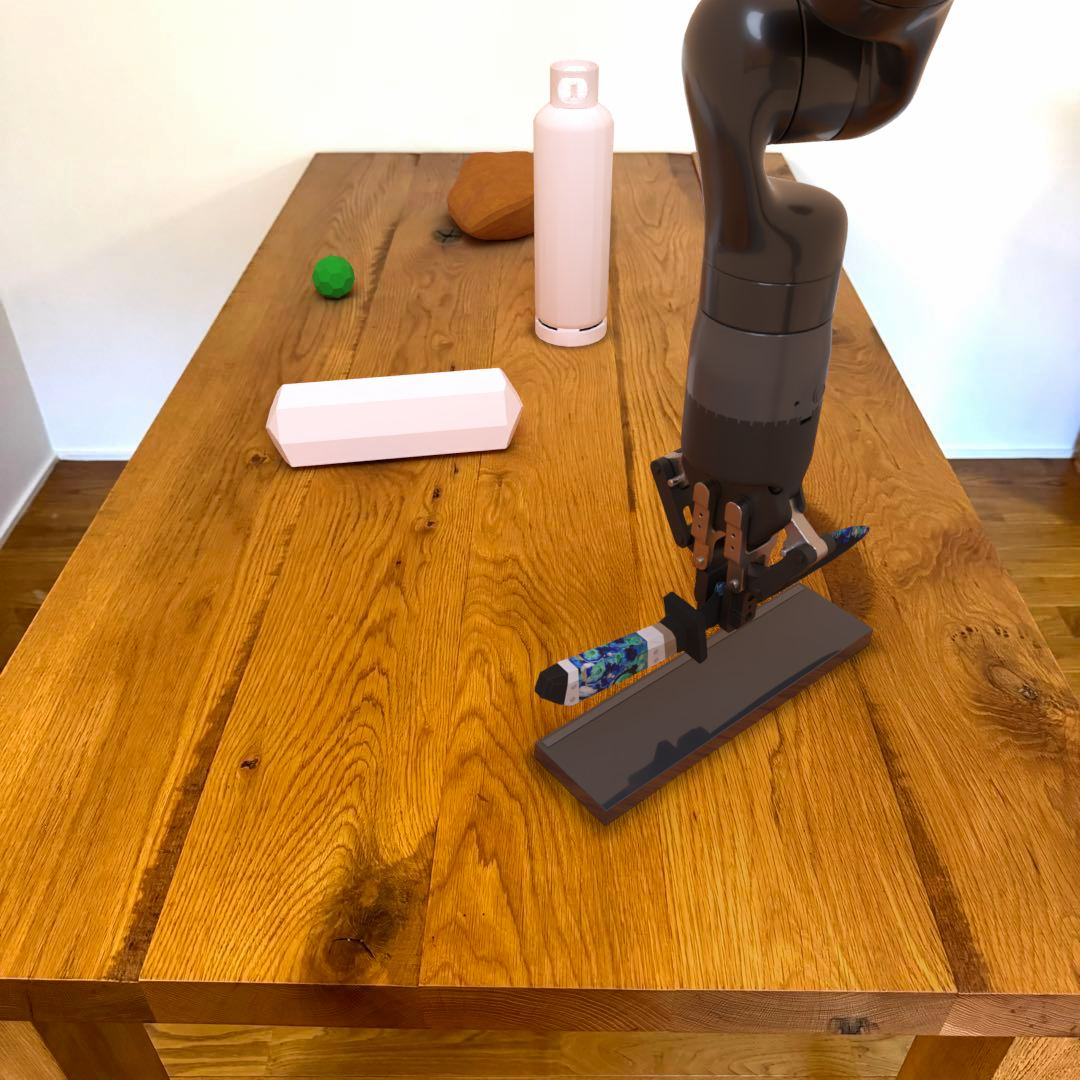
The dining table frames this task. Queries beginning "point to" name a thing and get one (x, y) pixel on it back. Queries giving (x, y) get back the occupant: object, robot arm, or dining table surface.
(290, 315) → the dining table surface
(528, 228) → the orange brown rock
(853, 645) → the slate board
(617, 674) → the knife
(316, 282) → the polyhedron
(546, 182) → the bottle
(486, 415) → the crystal
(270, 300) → the dining table surface
